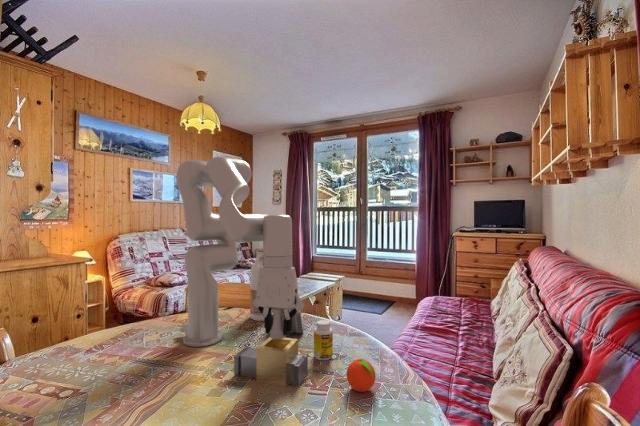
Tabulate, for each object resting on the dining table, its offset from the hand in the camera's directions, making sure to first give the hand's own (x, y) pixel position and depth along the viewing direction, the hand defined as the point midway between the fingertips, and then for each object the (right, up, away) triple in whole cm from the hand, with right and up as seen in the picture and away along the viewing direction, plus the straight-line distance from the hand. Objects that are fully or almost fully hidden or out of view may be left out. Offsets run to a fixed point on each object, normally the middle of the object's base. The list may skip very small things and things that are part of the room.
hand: (278, 331), depth 81 cm
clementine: (+21, -12, -7) cm, 25 cm away
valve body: (-2, -11, +1) cm, 12 cm away
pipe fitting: (-1, -12, +30) cm, 32 cm away
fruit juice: (-13, -12, +46) cm, 49 cm away
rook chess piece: (0, -1, 0) cm, 1 cm away
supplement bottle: (+12, -12, +11) cm, 20 cm away
